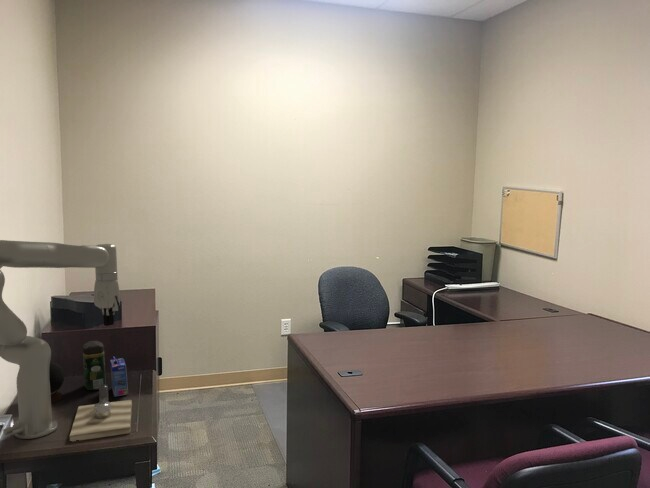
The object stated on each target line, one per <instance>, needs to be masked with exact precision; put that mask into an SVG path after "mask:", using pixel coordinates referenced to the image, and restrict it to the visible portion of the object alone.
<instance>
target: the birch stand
mask: <svg viewBox="0 0 650 488" xmlns="http://www.w3.org/2000/svg"><path fill="white" fill-rule="evenodd" d="M109 402H110V401H109ZM95 404H96V403H94V404H87V405H79V406H78V407H77V411H76V414H75V417H74V420H73V423H72V427H71V431H70V434H69V442H70V441H72V442H77V441H76V440H79V441H85V440H92V439H98V438H106V437H112V436H119V435H124V434H125V435H126V434H131V426H132V425H131V424H132V411H133V400H132V399H127V400H126V399H125V400H120V401H119V400H117V401H111V402H110V406H111V415H110V416H109V417H107V418H102V419H98V418H96V417H95Z"/></svg>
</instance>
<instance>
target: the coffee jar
mask: <svg viewBox="0 0 650 488" xmlns="http://www.w3.org/2000/svg"><path fill="white" fill-rule="evenodd" d="M104 348H105V346H104V343H103V342H101V341H99V340H89V341H87V342H86V343H85V344H83V346H82V362H83V374H84V375H83V376H84V377H83V378H84V379H83V381H84V388H85V389H86V390H87V391H99V386H100V385H107V381H106V379H107V376H106V362H105V349H104Z"/></svg>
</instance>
